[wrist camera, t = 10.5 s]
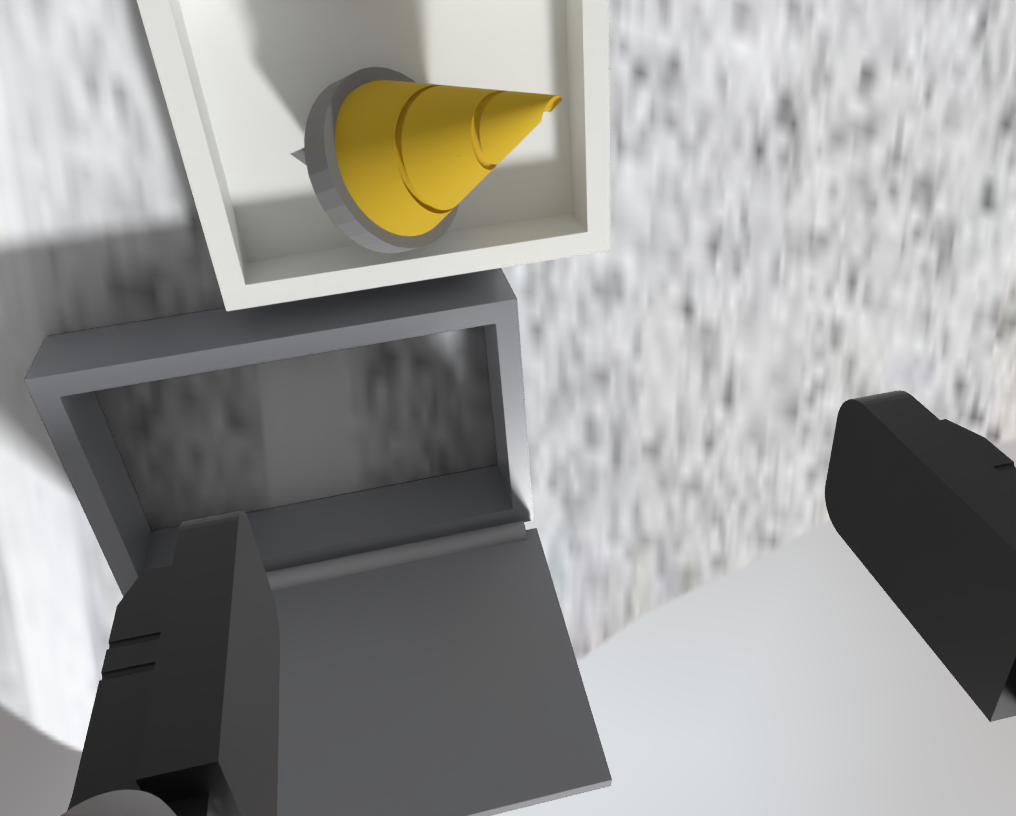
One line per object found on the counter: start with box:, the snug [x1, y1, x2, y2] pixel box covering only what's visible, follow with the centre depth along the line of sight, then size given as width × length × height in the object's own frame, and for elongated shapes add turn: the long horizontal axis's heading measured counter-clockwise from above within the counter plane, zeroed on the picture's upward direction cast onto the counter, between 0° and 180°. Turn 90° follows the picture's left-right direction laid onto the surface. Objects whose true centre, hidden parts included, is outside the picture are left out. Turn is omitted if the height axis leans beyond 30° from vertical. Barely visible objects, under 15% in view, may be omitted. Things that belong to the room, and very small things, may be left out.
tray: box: [137, 0, 610, 311], centre depth 27 cm, size 13×10×2 cm
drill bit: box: [291, 67, 562, 254], centre depth 25 cm, size 5×5×10 cm
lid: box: [266, 521, 612, 816], centre depth 30 cm, size 16×10×1 cm
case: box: [24, 268, 534, 597], centre depth 32 cm, size 16×10×3 cm, turn 93°
